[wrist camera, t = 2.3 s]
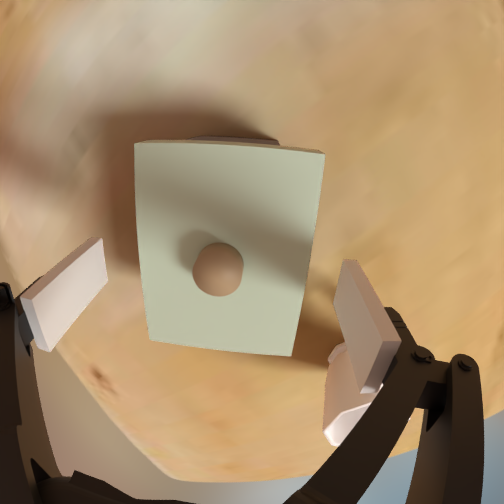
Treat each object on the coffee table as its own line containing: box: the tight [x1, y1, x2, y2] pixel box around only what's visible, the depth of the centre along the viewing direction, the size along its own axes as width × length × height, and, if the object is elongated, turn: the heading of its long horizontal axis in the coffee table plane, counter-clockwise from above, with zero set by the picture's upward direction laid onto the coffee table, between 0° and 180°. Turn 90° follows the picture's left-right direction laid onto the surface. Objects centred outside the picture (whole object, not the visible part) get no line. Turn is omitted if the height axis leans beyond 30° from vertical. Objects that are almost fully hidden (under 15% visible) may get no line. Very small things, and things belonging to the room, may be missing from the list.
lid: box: [134, 140, 325, 356], centre depth 16 cm, size 12×9×3 cm
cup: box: [322, 342, 410, 446], centre depth 21 cm, size 7×10×8 cm
